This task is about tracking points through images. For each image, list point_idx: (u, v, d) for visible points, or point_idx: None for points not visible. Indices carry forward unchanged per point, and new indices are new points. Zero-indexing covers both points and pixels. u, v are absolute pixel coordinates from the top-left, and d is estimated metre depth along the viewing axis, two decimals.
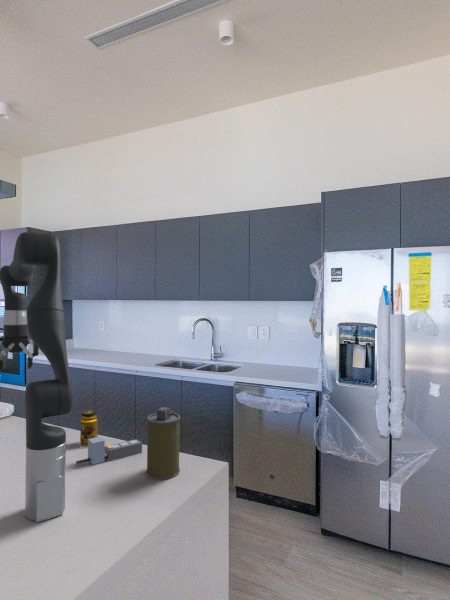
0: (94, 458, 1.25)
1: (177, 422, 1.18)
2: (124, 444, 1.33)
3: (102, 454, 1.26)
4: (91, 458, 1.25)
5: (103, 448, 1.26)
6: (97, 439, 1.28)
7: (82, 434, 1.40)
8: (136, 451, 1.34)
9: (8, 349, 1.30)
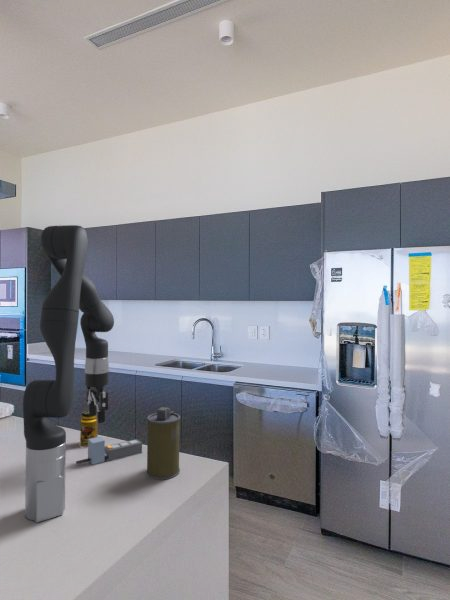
0: (94, 458, 1.25)
1: (177, 422, 1.18)
2: (124, 444, 1.33)
3: (102, 454, 1.26)
4: (91, 458, 1.25)
5: (103, 448, 1.26)
6: (97, 439, 1.28)
7: (82, 434, 1.40)
8: (136, 451, 1.34)
9: None
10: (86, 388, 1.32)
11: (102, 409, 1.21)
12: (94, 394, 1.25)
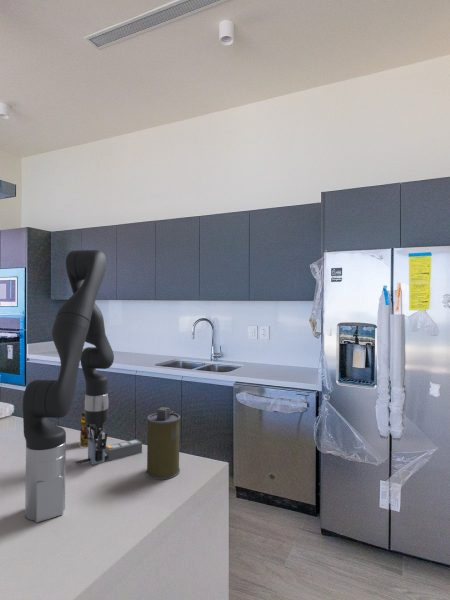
0: (94, 458, 1.25)
1: (177, 422, 1.18)
2: (124, 444, 1.33)
3: None
4: (91, 458, 1.25)
5: None
6: (97, 439, 1.28)
7: (82, 434, 1.40)
8: (136, 451, 1.34)
9: None
10: (86, 427, 1.32)
11: (100, 448, 1.23)
12: (94, 432, 1.25)
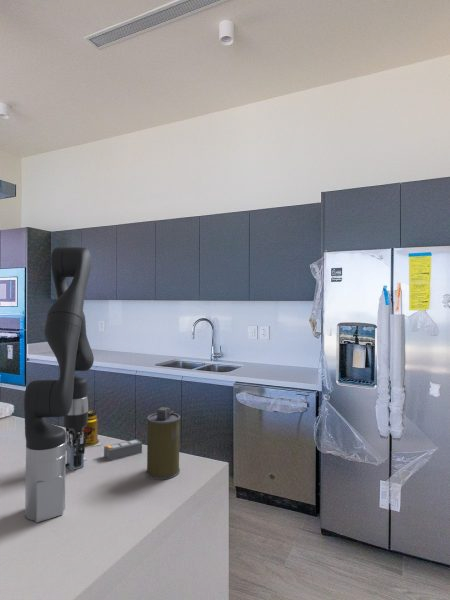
0: (72, 463, 1.20)
1: (177, 422, 1.18)
2: (124, 444, 1.33)
3: None
4: (70, 463, 1.21)
5: None
6: None
7: None
8: (136, 451, 1.34)
9: None
10: None
11: (78, 453, 1.18)
12: (72, 436, 1.21)
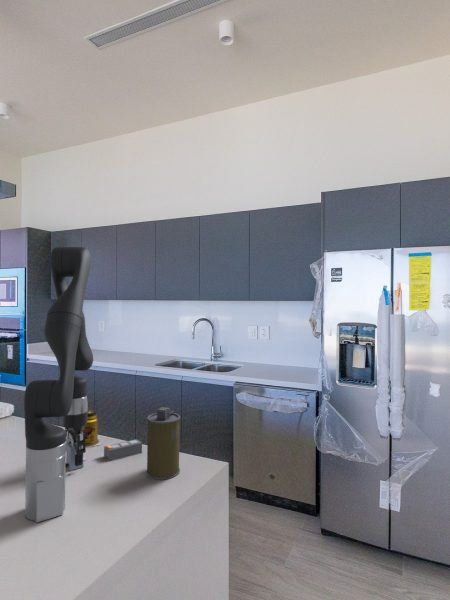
0: (72, 463, 1.20)
1: (177, 422, 1.18)
2: (124, 444, 1.33)
3: None
4: (69, 463, 1.21)
5: None
6: None
7: None
8: (136, 451, 1.34)
9: None
10: (65, 427, 1.28)
11: (79, 452, 1.17)
12: (72, 435, 1.20)
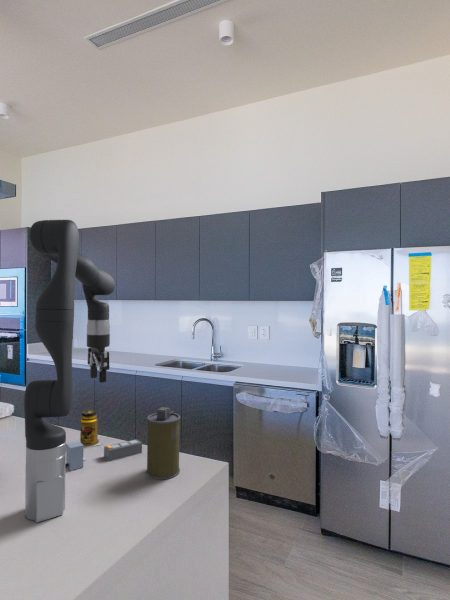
0: (72, 463, 1.20)
1: (177, 422, 1.18)
2: (124, 444, 1.33)
3: (81, 459, 1.22)
4: (69, 463, 1.21)
5: (82, 453, 1.22)
6: (76, 443, 1.23)
7: (82, 434, 1.40)
8: (136, 451, 1.34)
9: None
10: (88, 351, 1.36)
11: (104, 368, 1.25)
12: (96, 355, 1.29)
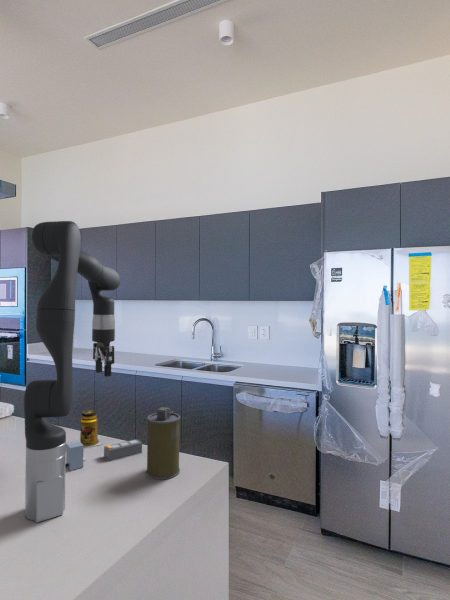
0: (72, 463, 1.20)
1: (177, 422, 1.18)
2: (124, 444, 1.33)
3: (81, 459, 1.22)
4: (69, 463, 1.21)
5: (82, 453, 1.22)
6: (76, 443, 1.23)
7: (82, 434, 1.40)
8: (136, 451, 1.34)
9: None
10: (93, 346, 1.37)
11: (109, 362, 1.27)
12: (101, 349, 1.30)
